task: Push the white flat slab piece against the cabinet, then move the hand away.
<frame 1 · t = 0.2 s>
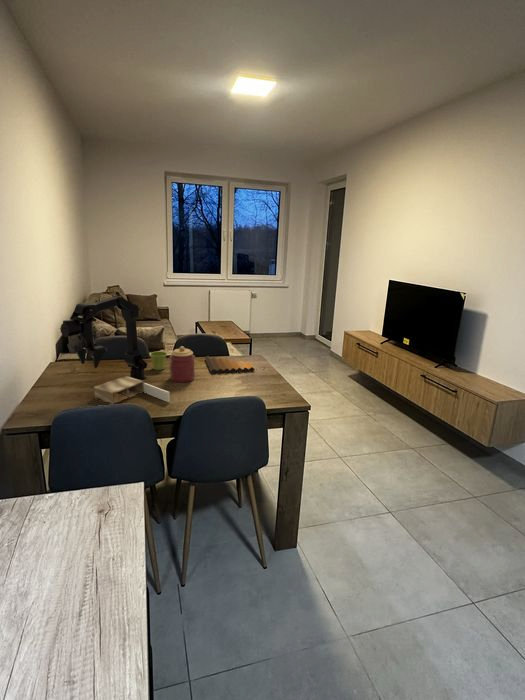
hand: (89, 365, 180), 15 cm above the table, tool pointing down, fingers open, 9 cm apart
canister: (182, 378, 211), on the table
white flat slab piece: (155, 392, 185), point 3 cm above the table, hinge at 85.0°
scalloped wooden trivet: (228, 366, 234), on the table
cabinet: (120, 395, 186), on the table
plant pot: (159, 368, 224), on the table
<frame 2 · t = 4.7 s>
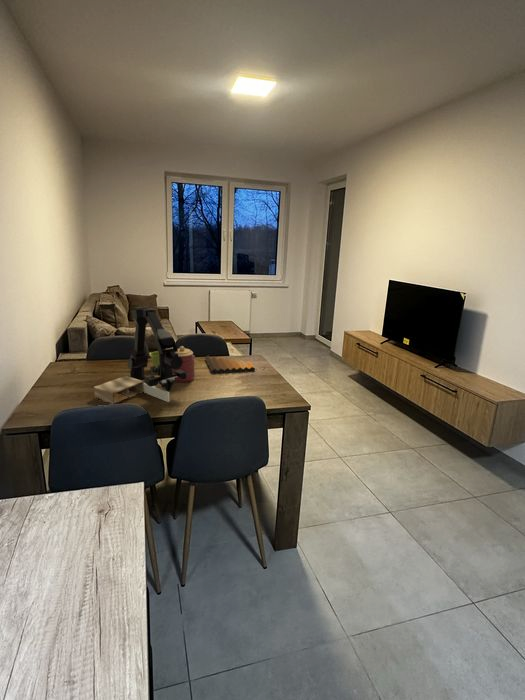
hand: (166, 395, 184), 2 cm above the table, tool pointing down, fingers closed
white flat slab piece: (155, 392, 185), point 3 cm above the table, hinge at 84.9°, touching gripper
everything else where it was.
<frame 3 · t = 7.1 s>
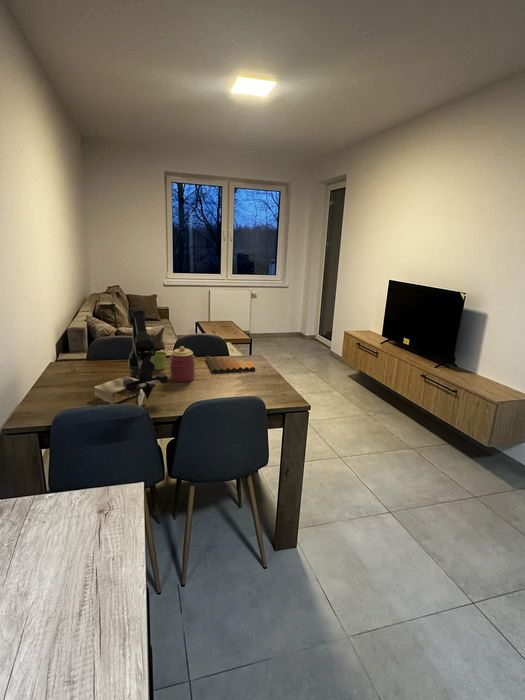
hand: (147, 398, 179), 2 cm above the table, tool pointing down, fingers closed
white flat slab piece: (141, 394, 181), point 3 cm above the table, hinge at 40.2°, touching gripper
everything else where it was.
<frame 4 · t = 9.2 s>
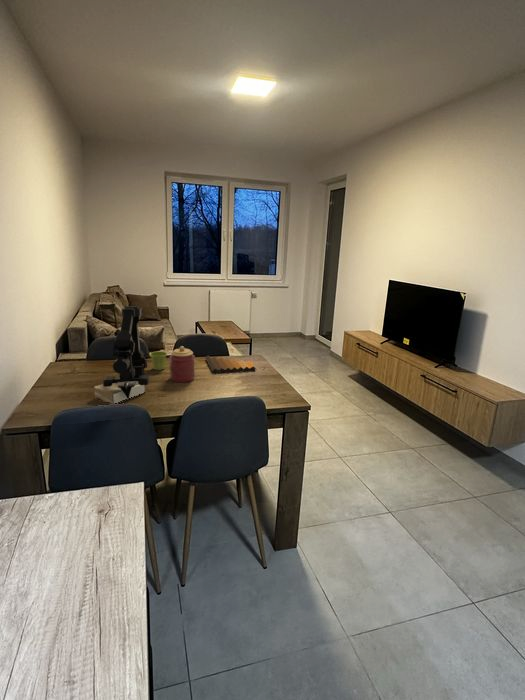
hand: (128, 398, 178), 2 cm above the table, tool pointing down, fingers closed
white flat slab piece: (130, 393, 182), point 3 cm above the table, hinge at -0.2°, touching gripper
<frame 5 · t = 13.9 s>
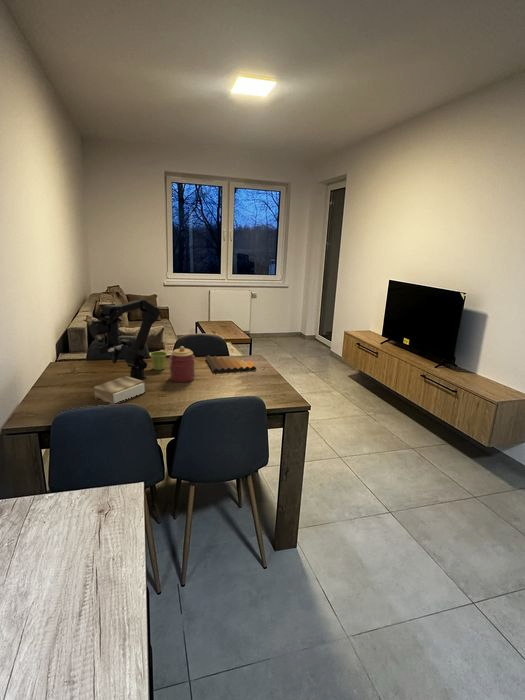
hand: (114, 363, 193), 12 cm above the table, tool pointing down, fingers closed
white flat slab piece: (130, 392, 182), point 3 cm above the table, hinge at -0.8°
at the end: white flat slab piece at -1° (first picture: +85°) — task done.
